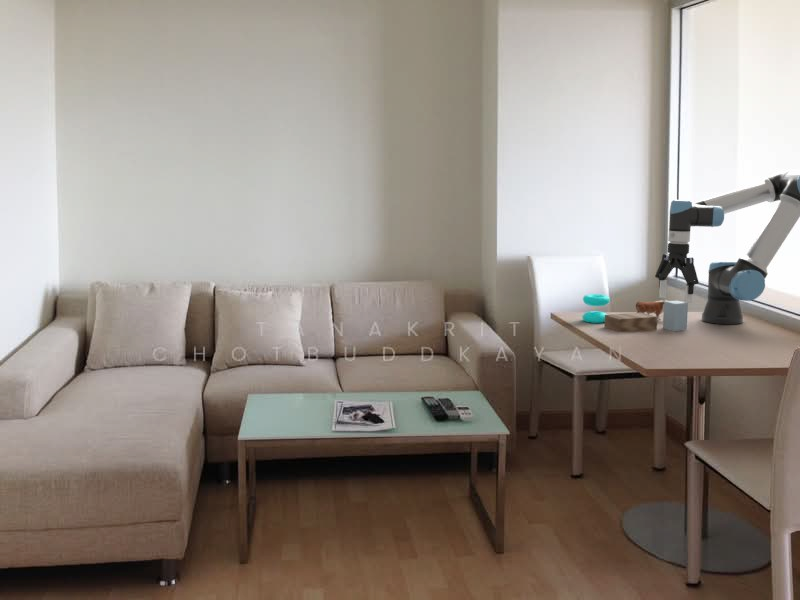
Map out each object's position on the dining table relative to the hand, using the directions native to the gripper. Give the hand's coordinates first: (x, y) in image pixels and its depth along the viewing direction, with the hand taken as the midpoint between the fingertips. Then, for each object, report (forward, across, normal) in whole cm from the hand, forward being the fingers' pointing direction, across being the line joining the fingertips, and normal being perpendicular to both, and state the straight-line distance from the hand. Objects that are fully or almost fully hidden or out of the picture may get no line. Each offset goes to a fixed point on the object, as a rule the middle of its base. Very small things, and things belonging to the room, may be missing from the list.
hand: (675, 300), depth 353 cm
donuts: (+11, -25, -16) cm, 32 cm away
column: (+11, 0, 0) cm, 11 cm away
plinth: (+11, -8, -13) cm, 19 cm away
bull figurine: (+11, -18, +6) cm, 22 cm away
